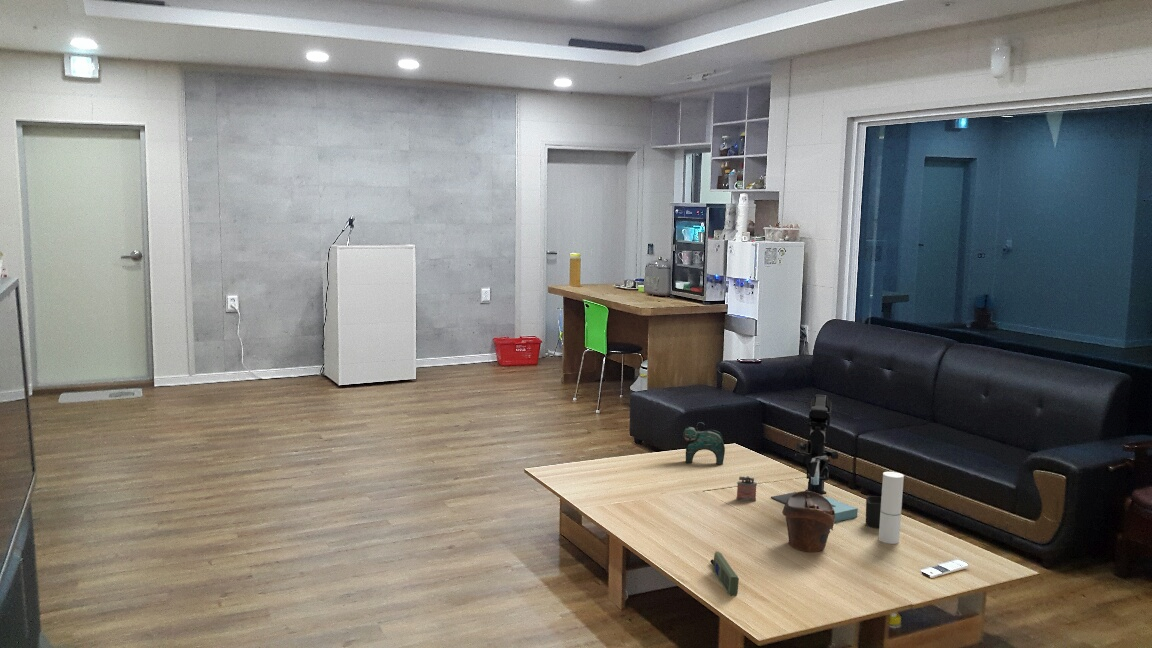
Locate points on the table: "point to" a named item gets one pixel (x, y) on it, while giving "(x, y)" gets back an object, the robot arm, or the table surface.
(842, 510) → the teal square hole block
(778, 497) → the rubber mat
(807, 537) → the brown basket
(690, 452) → the ceramic cat
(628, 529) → the table surface
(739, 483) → the lighter
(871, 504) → the pen holder
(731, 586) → the handheld radio
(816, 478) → the steel pin
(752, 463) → the table surface
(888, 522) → the cylindrical container
